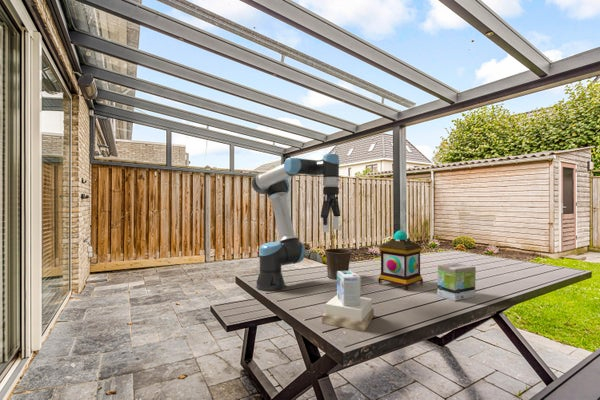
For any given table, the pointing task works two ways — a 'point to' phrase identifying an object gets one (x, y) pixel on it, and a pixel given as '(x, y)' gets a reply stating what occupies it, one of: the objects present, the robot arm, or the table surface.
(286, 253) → the robot arm
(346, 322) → the tower base slab
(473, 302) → the table surface
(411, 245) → the decorative lantern
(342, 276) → the light bulb box
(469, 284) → the tea box
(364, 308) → the tower top slab
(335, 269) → the plant pot
